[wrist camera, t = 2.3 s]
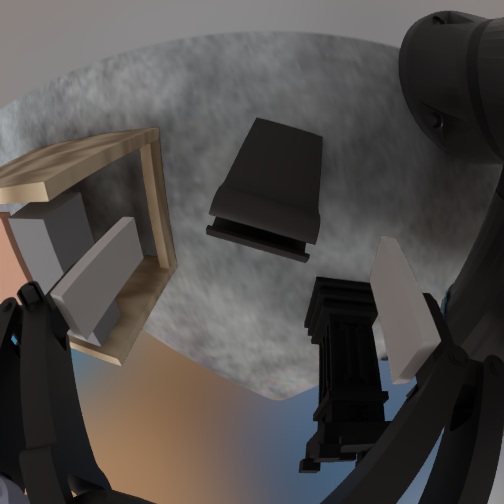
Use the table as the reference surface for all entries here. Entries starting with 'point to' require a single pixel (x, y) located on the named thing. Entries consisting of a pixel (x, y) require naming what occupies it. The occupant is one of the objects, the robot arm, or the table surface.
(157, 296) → the frame
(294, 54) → the table surface
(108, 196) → the table surface
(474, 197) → the table surface
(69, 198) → the trapdoor
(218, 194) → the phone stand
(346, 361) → the chess piece
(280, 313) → the table surface
